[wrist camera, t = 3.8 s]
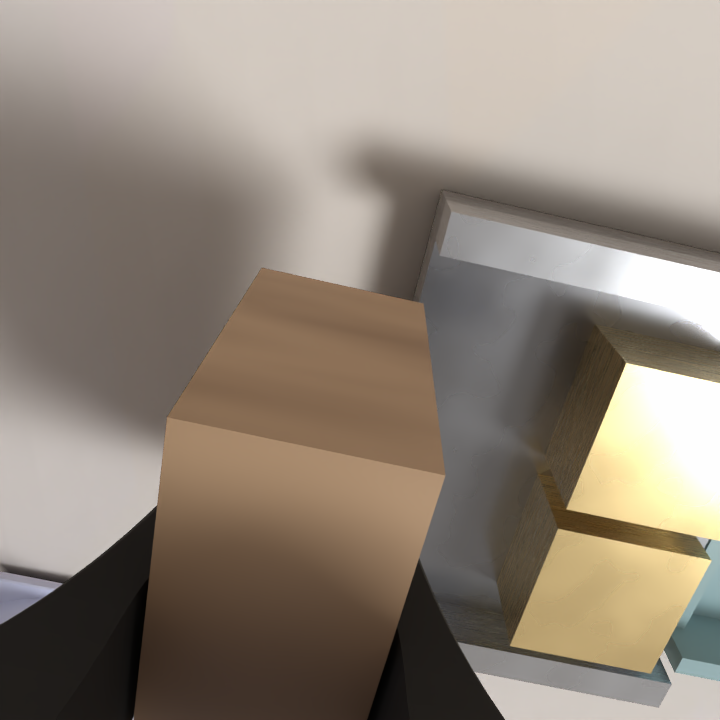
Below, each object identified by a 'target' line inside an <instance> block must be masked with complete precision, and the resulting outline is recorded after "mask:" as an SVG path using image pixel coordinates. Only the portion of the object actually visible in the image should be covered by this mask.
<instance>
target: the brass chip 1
mask: <svg viewBox="0 0 720 720" xmlns="http://www.w3.org/2000/svg"><path fill="white" fill-rule="evenodd" d="M545 458H546V460H547V463H548V465H549V468H550V470H551V473H552V475H553V478H554V480H555V483H556V485H557V487H558V490H559V492H560V495H561V497H562V500H563V502H564V505H565V507H566V509H568V510H572V511H577V512H582V513H587V514H592V515H596V516H601V517H606V518H611V519H616V520H621V521H625V522H630V523H635V524H640V525H645V526H649V527H654V528H659V529H664V530H669V531H673V532H678V533H683V534H688V535H693V536H698V537H702V538H707V539H712V540H717V541H720V352H718V351H714V350H709V349H705V348H700V347H696V346H691V345H687V344H682V343H678V342H673V341H669V340H664V339H660V338H655V337H651V336H646V335H642V334H637V333H633V332H628V331H624V330H619V329H615V328H610V327H606V326H601V325H597V324H595V325H594V328H593V330H592V333H591V335H590V338H589V341H588V343H587V346H586V348H585V351H584V354H583V356H582V359H581V362H580V364H579V367H578V369H577V372H576V375H575V377H574V380H573V383H572V385H571V388H570V390H569V393H568V396H567V398H566V401H565V403H564V406H563V409H562V411H561V414H560V417H559V419H558V422H557V424H556V427H555V430H554V432H553V435H552V437H551V440H550V443H549V445H548V448H547V451H546V453H545Z"/></svg>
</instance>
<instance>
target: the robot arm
mask: <svg viewBox="0 0 720 720" xmlns="http://www.w3.org/2000/svg"><path fill="white" fill-rule="evenodd" d="M156 512H157V506H156V507H155V508H154V509H153V510H152V511H151V512H150V513H149V514H147V515H146V516H145V517H144V518H143V519H142V520H141V521H140V522H139V523H138V524H137V525H136V526H134V527H133V528H132V529H131V530H130V531H129V532H128V533H127V534H125V535H124V536H123V537H122V538H121V539H120V540H118V541H117V542H116V543H115V544H114V545H112V546H111V547H110V548H109V549H108V550H106V551H105V552H104V553H103V554H102V555H100V556H99V557H98V558H97V559H95V560H94V561H93V562H92V563H90V564H89V565H88V566H86V567H85V568H84V569H82V570H81V571H80V572H78V573H77V574H76V575H74V576H73V577H71V578H70V579H69V580H67V581H66V582H65V583H58V582H53V581H47V580H42V579H37V578H32V577H27V576H22V575H17V574H12V573H6V572H1V571H0V720H133V719H134V710H135V701H136V692H137V683H138V674H139V665H140V656H141V647H142V638H143V629H144V620H145V611H146V602H147V593H148V584H149V575H150V566H151V557H152V548H153V539H154V530H155V521H156ZM367 720H505V719H504V717H503V716H502V714H501V713H500V712H499V710H498V709H497V707H496V706H495V704H494V703H493V701H492V700H491V698H490V697H489V695H488V694H487V692H486V690H485V689H484V687H483V686H482V684H481V682H480V681H479V679H478V678H477V676H476V674H475V673H474V671H473V669H472V667H471V666H470V664H469V662H468V660H467V659H466V657H465V655H464V653H463V652H462V650H461V648H460V646H459V644H458V642H457V640H456V639H455V637H454V635H453V633H452V631H451V629H450V627H449V625H448V623H447V621H446V619H445V616H444V614H443V612H442V610H441V608H440V606H439V604H438V602H437V600H436V597H435V595H434V593H433V591H432V588H431V586H430V584H429V581H428V579H427V576H426V574H425V572H424V569H423V567H422V564H421V561H420V559H419V560H418V563H417V566H416V569H415V572H414V575H413V578H412V581H411V585H410V588H409V591H408V594H407V597H406V600H405V603H404V606H403V610H402V613H401V616H400V619H399V622H398V625H397V628H396V631H395V634H394V638H393V641H392V644H391V647H390V650H389V653H388V656H387V659H386V663H385V666H384V669H383V672H382V675H381V678H380V681H379V684H378V687H377V691H376V694H375V697H374V700H373V703H372V706H371V709H370V712H369V716H368V719H367Z"/></svg>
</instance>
